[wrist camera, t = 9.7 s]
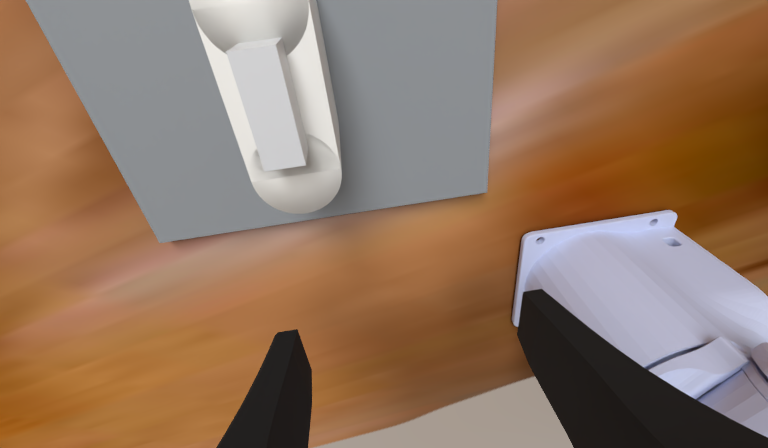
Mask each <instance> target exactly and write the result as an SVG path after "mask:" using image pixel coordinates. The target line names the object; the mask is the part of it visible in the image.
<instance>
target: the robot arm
mask: <svg viewBox="0 0 768 448" xmlns="http://www.w3.org/2000/svg"><path fill="white" fill-rule="evenodd" d="M676 219H677V214H676V213H675V212H673V211H671V210H665V211H658V212H652V213H646V214H640V215H633V216H627V217H621V218H615V219H608V220H602V221H596V222H590V223H583V224H577V225H571V226H565V227H558V228H552V229H546V230H539V231H533V232H529V233H526V234H525V235H524V236H523V237H522V240H521V248H520V256H519V264H518V273H517V281H516V289H515V297H514V306H513V314H512V322H513V324H514V325H515V326H517V327H518V332H517V336H518V338H519V341H520V343H521V346H522V348H523V351H524V353H525V356H526V358H527V361H528V363H529V365H530V367H531V369H532V371H533V373H534V375H535V377H536V378H537V380H538V382H539V384H540V386H541V388H542V389H543V391H544V393H545V395H546V397H547V398H548V400H549V402H550V404H551V406H552V408H553V409H554V411H555V413H556V415H557V417H558V418H559V420H560V422H561V424H562V426H563V428H564V429H565V431H566V433H567V435H568V437H569V439H570V441H571V443H572V445H573V447H574V448H768V297H767V296H766V295H765V294H764V293H763V292H762V291H761V290H760V289H759V288H758V287H756V286H755V285H754V284H752V283H751V282H750V281H748V280H747V279H745V278H744V277H743V276H741V275H740V274H738V273H737V272H736V271H734V270H733V269H732V268H730V267H729V266H727V265H726V264H725V263H723V262H722V261H720V260H719V259H718V258H716V257H715V256H714V255H712V254H711V253H709V252H708V251H707V250H705V249H704V248H702V247H701V246H700V245H698V244H697V243H695V242H694V241H693V240H691V239H690V238H689V237H687V236H686V235H684V234H683V233H682V232H680V231H679V230H677V229H676V228H675V227H674V225H675V222H676ZM540 237H541V238H540ZM538 238H540V239H539V240H537V239H538ZM536 240H537V241H536ZM311 408H312V371H311V367H310V364H309V361H308V358H307V356H306V353H305V350H304V347H303V344H302V341H301V339H300V336H299V333H298V330H297V329H296V330H290V331H284V332H278V333H277V334H276V335H275V337H274V339H273V342H272V344H271V346H270V349H269V351H268V353H267V355H266V357H265V360H264V362H263V364H262V366H261V368H260V370H259V372H258V374H257V376H256V378H255V380H254V382H253V384H252V386H251V388H250V390H249V392H248V394H247V396H246V398H245V400H244V401H243V403H242V405H241V407H240V409H239V410H238V412H237V414H236V416H235V417H234V419H233V421H232V422H231V424H230V426H229V428H228V429H227V431H226V433H225V435H224V436H223V438H222V439H221V441H220V443H219V444H218V446H217V447H216V448H308V440H309V430H310V419H311Z"/></svg>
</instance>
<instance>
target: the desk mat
mask: <svg viewBox="0 0 768 448" xmlns="http://www.w3.org/2000/svg"><path fill="white" fill-rule="evenodd" d="M316 1H317V6H318V12H319V17H320V23H321V28H322V34H323V39H324V44H325V50H326V55H327V61H328V66H329V72H330V77H331V83H332V88H333V94H334V99H335V105H336V110H337V116H338V121H339V134H340V152H341V170H342V180H341V185H340V188H339V190H338V192H337V194H336V196H335V197H334V198H333V200H332V201H331V202H330V203H328V204H327V205H326V206H324V207H323V208H321V209H319V210H317V211H314V212H310V213H304V214H293V213H287V212H283V211H280V210H278V209H276V208H274V207H272V206H270V205H269V204H267V203H266V202H265V201H264V200H263V199H262V198H261V197H260V196H259V195H258V194H257V192H256V191H255V189H254V187H253V185H252V182H251V180H250V177H249V174H248V171H247V168H246V165H245V162H244V160H243V157H242V154H241V151H240V148H239V145H238V142H237V139H236V137H235V134H234V131H233V128H232V125H231V122H230V119H229V116H228V113H227V111H226V108H225V105H224V102H223V99H222V96H221V93H220V90H219V88H218V85H217V82H216V79H215V76H214V73H213V70H212V67H211V65H210V62H209V59H208V56H207V53H206V50H205V47H204V44H203V42H202V39H201V36H200V33H199V30H198V27H197V24H196V21H195V19H194V16H193V13H192V10H191V6H190V3H189V0H26V2H27V4H28V5H29V7H30V9H31V11H32V13H33V14H34V16H35V18H36V20H37V22H38V23H39V25H40V27H41V29H42V31H43V32H44V34H45V36H46V38H47V40H48V42H49V43H50V45H51V47H52V49H53V51H54V52H55V54H56V56H57V58H58V60H59V61H60V63H61V65H62V67H63V69H64V71H65V72H66V74H67V76H68V78H69V80H70V81H71V83H72V85H73V87H74V89H75V90H76V92H77V94H78V96H79V98H80V99H81V101H82V103H83V105H84V107H85V109H86V110H87V112H88V114H89V116H90V118H91V119H92V121H93V123H94V125H95V127H96V128H97V130H98V132H99V134H100V136H101V138H102V139H103V141H104V143H105V145H106V147H107V148H108V150H109V152H110V154H111V156H112V157H113V159H114V161H115V163H116V165H117V166H118V168H119V170H120V172H121V174H122V176H123V177H124V179H125V181H126V183H127V185H128V186H129V188H130V190H131V192H132V194H133V195H134V197H135V199H136V201H137V203H138V205H139V206H140V208H141V210H142V212H143V214H144V215H145V217H146V219H147V221H148V223H149V224H150V226H151V228H152V230H153V232H154V233H155V235H156V237H157V239H158V241H159V243H164V242H170V241H176V240H183V239H189V238H196V237H202V236H209V235H215V234H222V233H228V232H235V231H241V230H248V229H254V228H261V227H267V226H273V225H280V224H286V223H293V222H299V221H306V220H312V219H319V218H325V217H332V216H338V215H345V214H351V213H358V212H364V211H370V210H377V209H383V208H390V207H396V206H403V205H409V204H416V203H422V202H429V201H435V200H442V199H448V198H455V197H461V196H467V195H474V194H480V193H487V184H488V165H489V146H490V127H491V108H492V89H493V71H494V52H495V33H496V14H497V0H316Z"/></svg>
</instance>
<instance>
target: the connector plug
mask: <svg viewBox="0 0 768 448" xmlns="http://www.w3.org/2000/svg"><path fill="white" fill-rule="evenodd" d="M189 3H190V6H191V10H192V13H193V16H194V19H195V21H196V24H197V27H198V30H199V33H200V36H201V39H202V42H203V44H204V47H205V50H206V53H207V56H208V59H209V62H210V65H211V67H212V70H213V73H214V76H215V79H216V82H217V85H218V88H219V90H220V93H221V96H222V99H223V102H224V105H225V108H226V111H227V113H228V116H229V119H230V122H231V125H232V128H233V131H234V134H235V137H236V139H237V142H238V145H239V148H240V151H241V154H242V157H243V160H244V162H245V165H246V168H247V171H248V174H249V177H250V180H251V182H252V185H253V187H254V189H255V191H256V192H257V194H258V195H259V196H260V197H261V198H262V199H263V200H264V201H265V202H266V203H267V204H269V205H270V206H272V207H274V208H276V209H278V210H280V211H283V212H287V213H293V214H304V213H310V212H314V211H317V210H319V209H321V208H323V207H324V206H326V205H327V204H328V203H330V202H331V201H332V200H333V198H334V197H335V196H336V194H337V192H338V190H339V188H340V185H341V180H342V170H341V152H340V134H339V121H338V116H337V110H336V105H335V99H334V94H333V88H332V83H331V77H330V72H329V66H328V61H327V55H326V50H325V44H324V39H323V34H322V28H321V23H320V17H319V12H318V6H317V1H316V0H189Z"/></svg>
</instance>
